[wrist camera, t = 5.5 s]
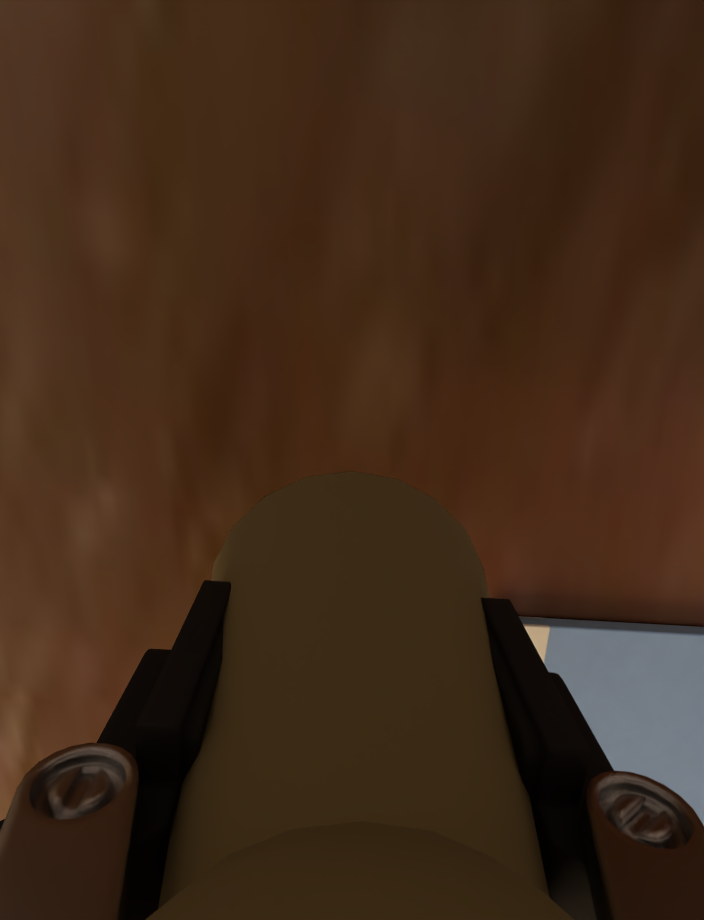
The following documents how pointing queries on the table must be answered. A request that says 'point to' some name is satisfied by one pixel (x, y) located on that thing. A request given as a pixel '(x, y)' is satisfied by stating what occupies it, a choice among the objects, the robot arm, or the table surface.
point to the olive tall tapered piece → (354, 725)
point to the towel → (635, 694)
